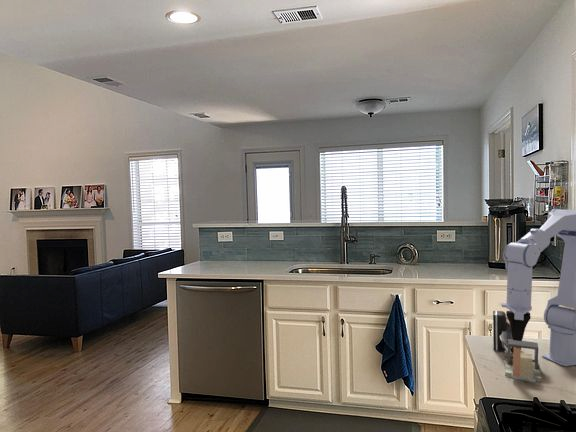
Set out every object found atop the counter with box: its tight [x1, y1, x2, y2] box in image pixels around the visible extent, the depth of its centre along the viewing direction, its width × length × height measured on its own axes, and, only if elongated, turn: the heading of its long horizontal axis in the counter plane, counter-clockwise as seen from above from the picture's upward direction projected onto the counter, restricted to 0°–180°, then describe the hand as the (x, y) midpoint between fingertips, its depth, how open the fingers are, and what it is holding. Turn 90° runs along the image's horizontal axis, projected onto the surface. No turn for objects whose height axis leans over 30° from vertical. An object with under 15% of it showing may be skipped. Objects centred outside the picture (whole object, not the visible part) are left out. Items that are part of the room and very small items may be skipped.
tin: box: [500, 316, 522, 352], centre depth 143 cm, size 15×3×8 cm, turn 170°
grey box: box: [507, 339, 539, 369], centre depth 126 cm, size 4×7×6 cm, turn 64°
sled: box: [511, 347, 537, 383], centre depth 119 cm, size 8×5×8 cm
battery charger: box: [492, 309, 507, 352], centre depth 141 cm, size 7×4×11 cm, turn 156°
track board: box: [504, 354, 542, 383], centre depth 125 cm, size 14×8×1 cm, turn 154°
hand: (517, 339), depth 118 cm, fingers closed
